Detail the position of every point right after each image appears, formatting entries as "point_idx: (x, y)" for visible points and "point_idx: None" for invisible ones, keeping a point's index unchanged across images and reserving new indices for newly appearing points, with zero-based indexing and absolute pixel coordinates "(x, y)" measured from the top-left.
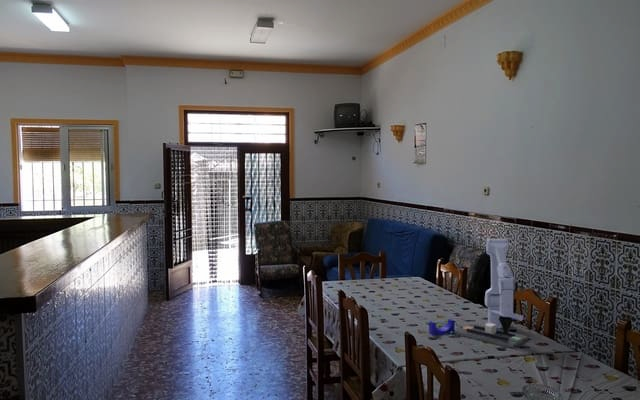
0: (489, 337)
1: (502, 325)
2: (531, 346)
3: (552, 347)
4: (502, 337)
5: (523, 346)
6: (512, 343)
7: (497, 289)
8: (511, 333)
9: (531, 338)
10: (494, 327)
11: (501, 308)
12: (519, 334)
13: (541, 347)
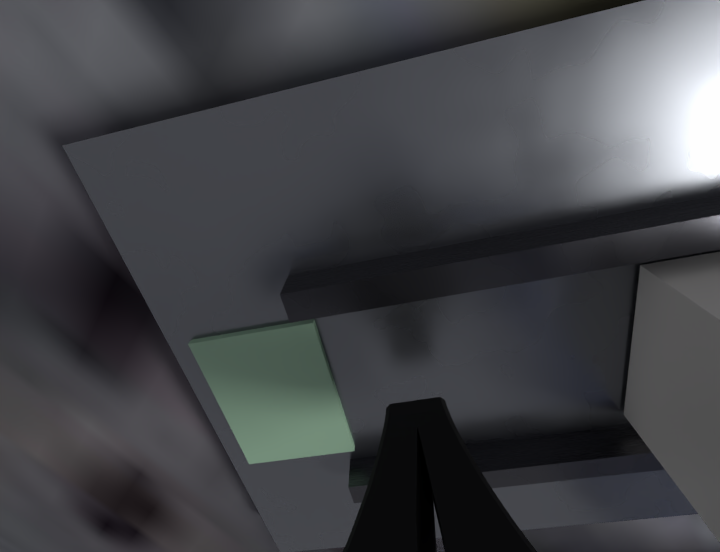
0: (617, 134)
1: (500, 545)
2: (91, 392)
3: (5, 499)
4: (385, 270)
5: (123, 326)
6: (133, 209)
7: None
8: None
9: None
10: (709, 460)
11: None
12: None
13: (31, 437)
